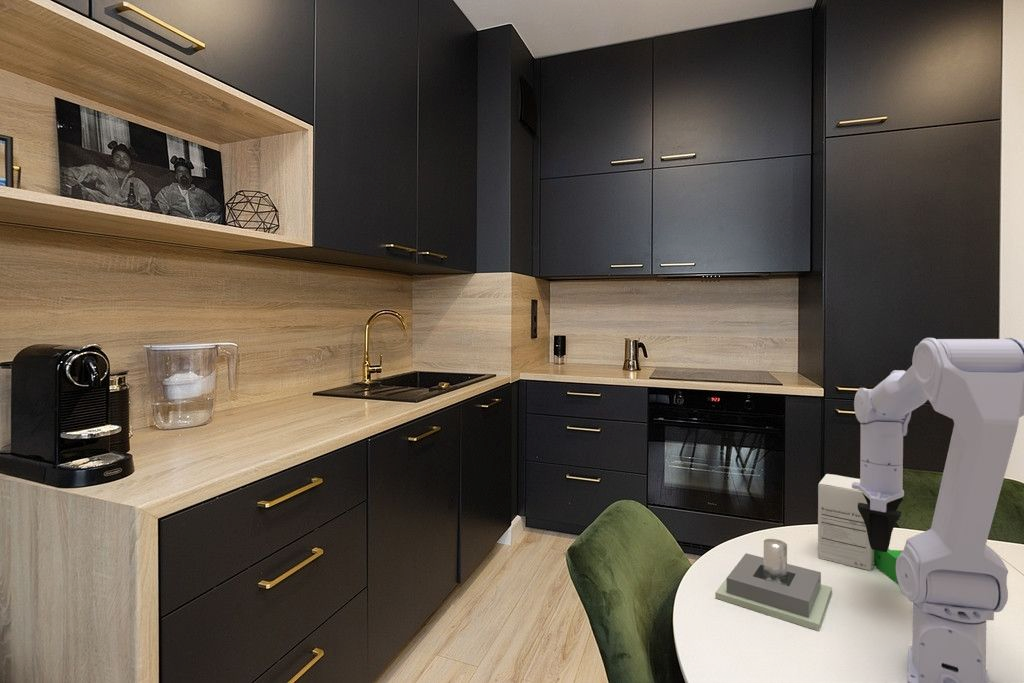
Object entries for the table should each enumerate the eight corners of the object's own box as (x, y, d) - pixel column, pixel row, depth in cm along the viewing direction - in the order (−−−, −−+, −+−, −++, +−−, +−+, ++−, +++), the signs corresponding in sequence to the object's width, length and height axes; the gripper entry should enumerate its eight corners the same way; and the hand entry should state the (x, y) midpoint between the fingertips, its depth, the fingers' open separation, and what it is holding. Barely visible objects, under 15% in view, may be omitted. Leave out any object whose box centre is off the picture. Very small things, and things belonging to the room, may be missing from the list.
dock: (819, 631, 75) (819, 607, 75) (715, 598, 85) (715, 577, 85) (831, 592, 86) (832, 572, 86) (738, 567, 96) (738, 549, 96)
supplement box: (824, 543, 106) (825, 472, 106) (877, 555, 100) (877, 480, 100) (816, 558, 99) (816, 482, 99) (871, 572, 94) (872, 491, 93)
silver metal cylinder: (785, 597, 83) (786, 549, 83) (762, 591, 85) (762, 544, 85) (787, 587, 86) (788, 541, 86) (764, 582, 88) (765, 537, 88)
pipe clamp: (936, 598, 85) (937, 571, 85) (912, 597, 85) (912, 570, 85) (895, 567, 96) (895, 543, 96) (873, 565, 96) (874, 542, 96)
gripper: (856, 449, 92) (855, 523, 92) (847, 466, 81) (846, 550, 81) (905, 455, 88) (904, 533, 88) (903, 474, 76) (902, 563, 77)
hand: (880, 542), depth 84 cm, fingers open, 7 cm apart
